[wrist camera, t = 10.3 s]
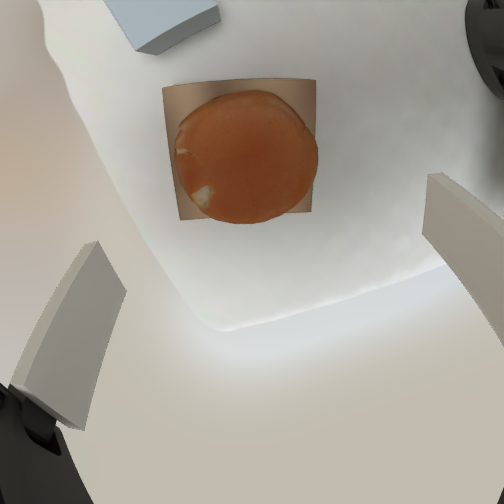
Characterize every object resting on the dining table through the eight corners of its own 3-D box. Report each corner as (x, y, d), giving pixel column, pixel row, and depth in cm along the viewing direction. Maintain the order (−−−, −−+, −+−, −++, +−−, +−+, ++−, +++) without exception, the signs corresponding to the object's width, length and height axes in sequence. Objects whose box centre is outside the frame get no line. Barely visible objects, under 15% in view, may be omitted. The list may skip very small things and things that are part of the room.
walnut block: (301, 78, 21) (316, 80, 17) (299, 191, 28) (310, 211, 24) (173, 85, 21) (162, 87, 17) (186, 198, 27) (180, 220, 23)
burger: (333, 141, 20) (355, 160, 16) (259, 225, 24) (264, 259, 20) (227, 62, 16) (224, 58, 13) (157, 163, 21) (140, 187, 17)
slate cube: (189, -27, 14) (177, -53, 9) (220, 21, 17) (217, 4, 12) (126, 8, 15) (99, -6, 10) (156, 55, 18) (135, 50, 14)
